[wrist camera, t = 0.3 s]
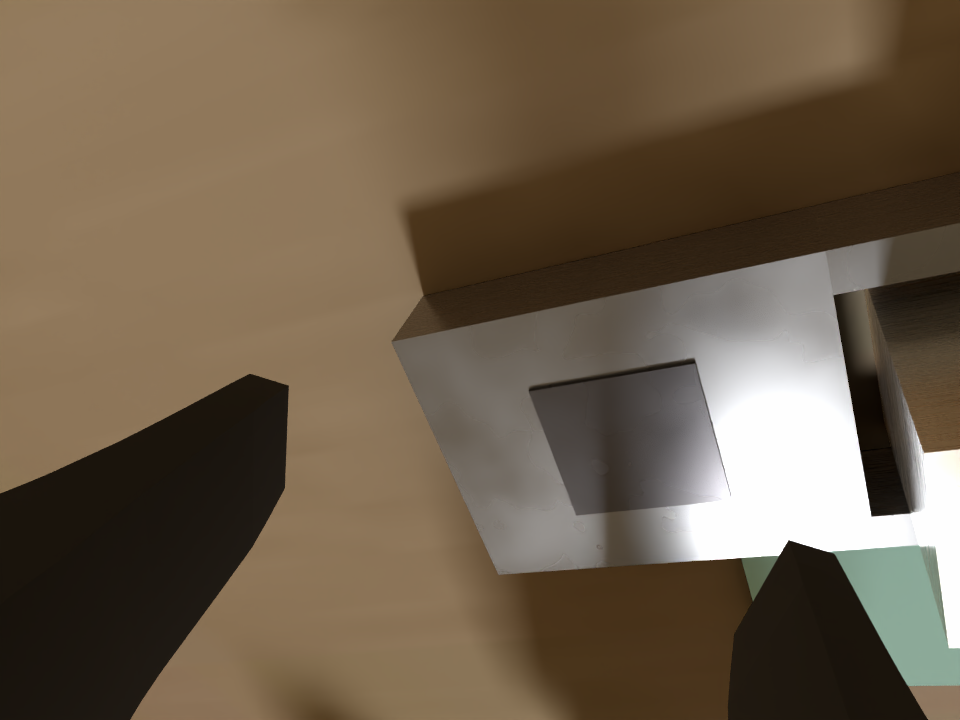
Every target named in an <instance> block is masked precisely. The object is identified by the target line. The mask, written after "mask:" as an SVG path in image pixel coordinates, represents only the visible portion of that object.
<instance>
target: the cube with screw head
mask: <svg viewBox="0 0 960 720" xmlns="http://www.w3.org/2000/svg"><path fill="white" fill-rule="evenodd" d="M864 292H865V299H866V305H867V312H868V319H869V325H870V332H871V338H872V345H873V351H874V358H875V364H876V371H877V378H878V384H879V391H880V397H881V404H882V410H883V417H884V423H885V427H886V431H887V434H888V437H889V441H890V444H891V448H892V451H893V455H894V458H895V462H896V465H897V469H898V472H899V476H900V479H901V483H902V486H903V490H904V493H905V497H906V500H907V504H908V507H909V511H910V514H911V518H912V521H913V525H914V528H915V532H916V535H917V539H918V542H919V545H920V549H921V552H922V556H923V559H924V563H925V566H926V570H927V573H928V577H929V580H930V584H931V587H932V591H933V594H934V598H935V601H936V605H937V608H938V612H939V615H940V619H941V622H942V626H943V629H944V633H945V636H946V640H947V643H948V646H949V648H960V271H958V272H953V273H948V274H943V275H937V276H932V277H927V278H921V279H916V280H911V281H905V282H900V283H895V284H889V285H884V286H879V287H874V288H868V289H864Z"/></svg>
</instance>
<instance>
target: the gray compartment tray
mask: <svg viewBox="0 0 960 720" xmlns="http://www.w3.org/2000/svg"><path fill="white" fill-rule="evenodd" d="M958 271H960V172H958V173H954V174H949V175H945V176H941V177H937V178H932V179H928V180H924V181H919V182H915V183H911V184H906V185H902V186H898V187H893V188H889V189H885V190H880V191H876V192H872V193H867V194H863V195H859V196H854V197H850V198H846V199H842V200H837V201H833V202H829V203H824V204H820V205H816V206H811V207H807V208H803V209H798V210H794V211H790V212H785V213H781V214H777V215H772V216H768V217H764V218H759V219H755V220H751V221H746V222H742V223H738V224H734V225H729V226H725V227H721V228H716V229H712V230H708V231H703V232H699V233H695V234H690V235H686V236H682V237H677V238H673V239H669V240H664V241H660V242H656V243H651V244H647V245H643V246H639V247H634V248H630V249H626V250H621V251H617V252H613V253H608V254H604V255H600V256H595V257H591V258H587V259H582V260H578V261H574V262H569V263H565V264H561V265H556V266H552V267H548V268H543V269H539V270H535V271H531V272H526V273H522V274H518V275H513V276H509V277H505V278H500V279H496V280H492V281H487V282H483V283H479V284H474V285H470V286H466V287H461V288H457V289H453V290H448V291H444V292H440V293H436V294H431V295H427V296H423V297H422V299H421V300H420V301H419V303H418V304H417V306H416V307H415V309H414V310H413V312H412V313H411V314H410V316H409V317H408V319H407V320H406V322H405V323H404V325H403V326H402V327H401V329H400V330H399V332H398V333H397V335H396V336H395V337H394V339H393V340H392V344H393V347H394V349H395V351H396V353H397V355H398V357H399V360H400V362H401V364H402V366H403V368H404V370H405V373H406V375H407V377H408V379H409V381H410V383H411V386H412V388H413V390H414V392H415V394H416V397H417V399H418V401H419V403H420V405H421V407H422V410H423V412H424V414H425V416H426V418H427V420H428V423H429V425H430V427H431V429H432V431H433V433H434V436H435V438H436V440H437V442H438V444H439V446H440V449H441V451H442V453H443V455H444V457H445V460H446V462H447V464H448V466H449V468H450V470H451V473H452V475H453V477H454V479H455V481H456V483H457V486H458V488H459V490H460V492H461V494H462V496H463V499H464V501H465V503H466V505H467V507H468V509H469V512H470V514H471V516H472V518H473V520H474V523H475V525H476V527H477V529H478V531H479V533H480V536H481V538H482V540H483V542H484V544H485V546H486V549H487V551H488V553H489V555H490V557H491V559H492V562H493V564H494V566H495V568H496V570H497V572H498V575H501V574H516V573H530V572H544V571H558V570H572V569H587V568H601V567H615V566H629V565H643V564H658V563H672V562H686V561H700V560H714V559H729V558H743V557H757V556H771V555H780V553H781V552H782V550H783V548H784V546H785V544H786V543H787V541H788V540H791V541H795V542H798V543H801V544H804V545H808V546H811V547H814V548H817V549H821V550H824V551H827V552H828V551H842V550H856V549H870V548H885V547H899V546H913V545H919V542H918V539H917V535H916V532H915V528H914V525H913V521H912V518H911V514H910V511H909V507H908V504H907V500H906V497H905V493H904V490H903V486H902V483H901V479H900V476H899V472H898V469H897V465H896V462H895V458H894V455H893V451H892V448H886V449H878V450H869V451H860V448H859V442H858V436H857V431H856V425H855V419H854V413H853V407H852V402H851V396H850V390H849V384H848V378H847V373H846V367H845V361H844V355H843V349H842V344H841V338H840V332H839V326H838V321H837V315H836V309H835V303H834V297H833V295H836V294H842V293H847V292H852V291H858V290H863V289H868V288H874V287H879V286H884V285H889V284H895V283H900V282H905V281H911V280H916V279H921V278H927V277H932V276H937V275H943V274H948V273H953V272H958Z"/></svg>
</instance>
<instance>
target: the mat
mask: <svg viewBox="0 0 960 720" xmlns="http://www.w3.org/2000/svg"><path fill="white" fill-rule="evenodd" d="M828 552H830V553H834V554H835V555H836V557H837V559H838V561H839V563H840V564H841V566H842V568H843V570H844V572H845V573H846V575H847V577H848V579H849V581H850V583H851V585H852V586H853V588H854V590H855V592H856V594H857V596H858V598H859V599H860V601H861V603H862V605H863V607H864V609H865V610H866V612H867V614H868V616H869V618H870V620H871V622H872V623H873V625H874V627H875V629H876V631H877V632H878V634H879V636H880V638H881V640H882V642H883V643H884V645H885V647H886V649H887V651H888V652H889V654H890V656H891V658H892V659H893V661H894V663H895V665H896V666H897V668H898V670H899V672H900V673H901V675H902V677H903V679H904V680H905V682H906V684H907V685H908V686H941V685H960V648H949V646H948V643H947V640H946V636H945V633H944V629H943V626H942V622H941V619H940V615H939V612H938V608H937V605H936V601H935V598H934V594H933V591H932V587H931V584H930V580H929V577H928V573H927V570H926V566H925V563H924V559H923V556H922V552H921V549H920V545H913V546H899V547H885V548H870V549H856V550H842V551H828ZM778 557H779V555H771V556H757V557H743V558H741V560H742V563H743V567H744V571H745V574H746V578H747V582H748V585H749V589H750V593H751V596H752V600H753V601H754V599H755V597H756V595H757V594H758V592H759V590H760V588H761V587H762V585H763V583H764V581H765V580H766V578H767V576H768V574H769V573H770V571H771V569H772V567H773V566H774V564H775V562H776V560H777V559H778Z"/></svg>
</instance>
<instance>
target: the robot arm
mask: <svg viewBox="0 0 960 720" xmlns="http://www.w3.org/2000/svg"><path fill="white" fill-rule="evenodd" d="M288 390H289V386H288V385H285V384H281V383H278V382H275V381H272V380H268V379H265V378H262V377H259V376H255V375H252V374H249V375H247V376H245V377H243V378H241V379H239V380H237V381H235V382H233V383H231V384H229V385H227V386H225V387H223V388H222V389H220V390H218V391H216V392H214V393H212V394H210V395H208V396H206V397H205V398H203V399H201V400H199V401H197V402H195V403H193V404H191V405H189V406H188V407H186V408H184V409H182V410H180V411H178V412H176V413H174V414H172V415H170V416H169V417H167V418H165V419H163V420H161V421H159V422H157V423H155V424H153V425H151V426H149V427H147V428H145V429H143V430H141V431H139V432H137V433H135V434H133V435H131V436H129V437H127V438H125V439H123V440H121V441H119V442H117V443H115V444H113V445H111V446H109V447H106V448H104V449H102V450H100V451H98V452H95V453H93V454H91V455H89V456H87V457H85V458H82V459H80V460H78V461H76V462H74V463H71V464H69V465H67V466H65V467H63V468H60V469H58V470H56V471H54V472H52V473H50V474H47V475H45V476H43V477H40V478H38V479H35V480H33V481H31V482H28V483H26V484H23V485H21V486H18V487H16V488H13V489H11V490H8V491H6V492H3V493H0V720H130V719H131V717H132V716H133V714H134V712H135V711H136V709H137V707H138V706H139V704H140V702H141V701H142V699H143V698H144V696H145V695H146V693H147V692H148V690H149V689H150V687H151V686H152V684H153V683H154V681H155V680H156V678H157V677H158V676H159V674H160V673H161V671H162V670H163V668H164V667H165V666H166V664H167V663H168V662H169V660H170V659H171V658H172V656H173V655H174V653H175V652H176V651H177V649H178V648H179V647H180V645H181V644H182V643H183V641H184V640H185V639H186V637H187V636H188V634H189V633H190V632H191V630H192V629H193V628H194V626H195V625H196V624H197V622H198V621H199V619H200V618H201V617H202V615H203V614H204V613H205V611H206V610H207V609H208V607H209V606H210V605H211V603H212V602H213V600H214V599H215V598H216V596H217V595H218V594H219V592H220V591H221V590H222V588H223V587H224V585H225V584H226V583H227V581H228V580H229V579H230V577H231V576H232V574H233V573H234V572H235V570H236V569H237V568H238V566H239V565H240V563H241V562H242V561H243V559H244V558H245V556H246V555H247V554H248V552H249V551H250V549H251V548H252V547H253V545H254V543H255V541H256V540H257V538H258V536H259V534H260V533H261V531H262V529H263V527H264V526H265V524H266V522H267V520H268V518H269V517H270V515H271V513H272V511H273V509H274V507H275V505H276V504H277V502H278V500H279V498H280V496H281V494H282V492H283V491H284V489H285V469H286V443H287V417H288ZM728 720H928V719H927V717H926V716H925V714H924V713H923V711H922V709H921V708H920V706H919V704H918V703H917V701H916V699H915V697H914V696H913V694H912V692H911V691H910V689H909V687H908V685H907V684H906V682H905V680H904V679H903V677H902V675H901V673H900V672H899V670H898V668H897V666H896V665H895V663H894V661H893V659H892V658H891V656H890V654H889V652H888V651H887V649H886V647H885V645H884V643H883V642H882V640H881V638H880V636H879V634H878V632H877V631H876V629H875V627H874V625H873V623H872V622H871V620H870V618H869V616H868V614H867V612H866V610H865V609H864V607H863V605H862V603H861V601H860V599H859V598H858V596H857V594H856V592H855V590H854V588H853V586H852V585H851V583H850V581H849V579H848V577H847V575H846V573H845V572H844V570H843V568H842V566H841V564H840V563H839V561H838V559H837V557H836V555H835V554H834V553H830V552H827V551H824V550H821V549H817V548H814V547H811V546H808V545H804V544H801V543H798V542H795V541H791V540H788V541H787V543H786V544H785V546H784V548H783V550H782V552H781V553H780V555H779V557H778V559H777V560H776V562H775V564H774V566H773V567H772V569H771V571H770V573H769V574H768V576H767V578H766V580H765V581H764V583H763V585H762V587H761V588H760V590H759V592H758V594H757V595H756V597H755V599H754V601H753V602H752V604H751V606H750V608H749V609H748V611H747V613H746V615H745V616H744V618H743V620H742V622H741V623H740V625H739V627H738V629H737V630H736V632H735V634H734V642H733V652H732V663H731V673H730V686H729V699H728Z"/></svg>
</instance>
